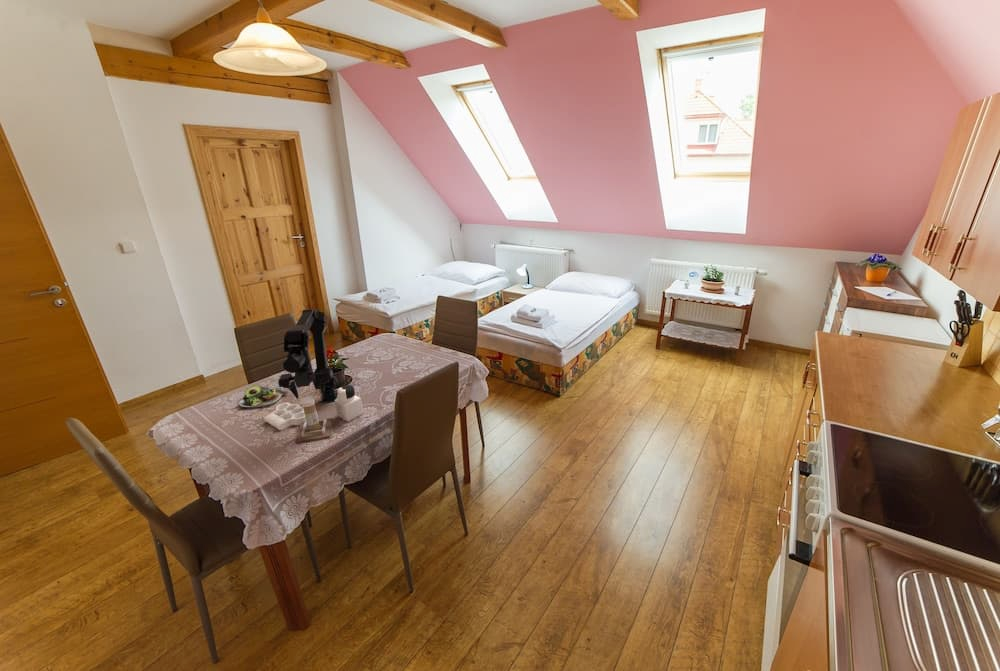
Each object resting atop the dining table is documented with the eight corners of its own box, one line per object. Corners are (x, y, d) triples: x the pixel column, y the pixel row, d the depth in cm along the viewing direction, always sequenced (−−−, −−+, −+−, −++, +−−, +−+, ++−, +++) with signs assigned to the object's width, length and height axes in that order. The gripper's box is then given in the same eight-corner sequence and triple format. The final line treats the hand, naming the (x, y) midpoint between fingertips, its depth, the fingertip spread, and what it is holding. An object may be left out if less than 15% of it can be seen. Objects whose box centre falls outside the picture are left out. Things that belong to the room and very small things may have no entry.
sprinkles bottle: (317, 424, 169) (310, 395, 164) (322, 428, 166) (316, 399, 161) (306, 429, 166) (299, 400, 161) (311, 434, 163) (304, 404, 158)
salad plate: (294, 387, 201) (292, 378, 199) (281, 406, 185) (279, 397, 183) (251, 390, 199) (249, 382, 197) (235, 411, 182) (232, 402, 181)
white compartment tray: (260, 420, 175) (294, 404, 186) (284, 434, 165) (317, 417, 176) (258, 413, 174) (292, 398, 185) (282, 427, 164) (316, 410, 175)
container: (353, 407, 182) (348, 381, 177) (363, 413, 177) (359, 386, 172) (337, 415, 176) (331, 388, 171) (347, 422, 172) (342, 394, 167)
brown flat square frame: (301, 424, 171) (300, 420, 170) (332, 419, 174) (331, 414, 173) (296, 443, 159) (294, 438, 158) (329, 437, 162) (328, 432, 161)
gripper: (270, 373, 151) (280, 411, 157) (325, 366, 155) (333, 402, 161) (277, 360, 161) (286, 396, 167) (328, 354, 165) (335, 388, 171)
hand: (310, 396), depth 166 cm, fingers open, 9 cm apart
